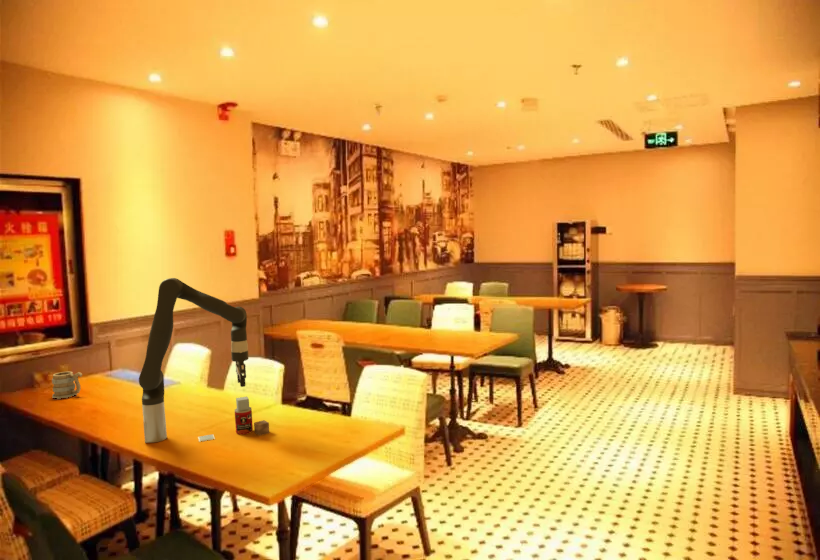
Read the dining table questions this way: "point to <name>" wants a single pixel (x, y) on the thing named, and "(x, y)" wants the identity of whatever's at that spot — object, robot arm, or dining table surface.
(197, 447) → the dining table surface
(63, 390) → the tankard
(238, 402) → the light grey cube
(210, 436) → the swatch
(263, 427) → the walnut block
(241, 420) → the canned food
